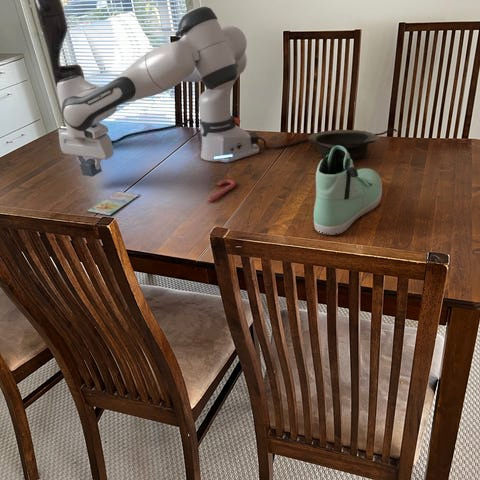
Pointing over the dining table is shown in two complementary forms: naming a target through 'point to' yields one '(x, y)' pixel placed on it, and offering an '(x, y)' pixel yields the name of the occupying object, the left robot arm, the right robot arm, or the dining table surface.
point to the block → (89, 168)
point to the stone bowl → (343, 141)
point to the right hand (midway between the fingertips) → (91, 168)
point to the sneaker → (343, 192)
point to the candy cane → (222, 189)
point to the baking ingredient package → (113, 203)
